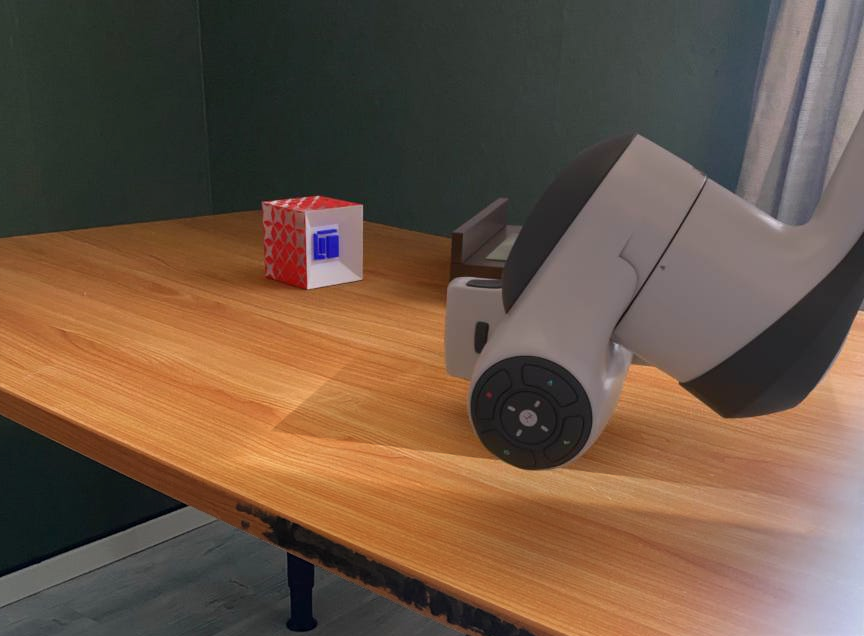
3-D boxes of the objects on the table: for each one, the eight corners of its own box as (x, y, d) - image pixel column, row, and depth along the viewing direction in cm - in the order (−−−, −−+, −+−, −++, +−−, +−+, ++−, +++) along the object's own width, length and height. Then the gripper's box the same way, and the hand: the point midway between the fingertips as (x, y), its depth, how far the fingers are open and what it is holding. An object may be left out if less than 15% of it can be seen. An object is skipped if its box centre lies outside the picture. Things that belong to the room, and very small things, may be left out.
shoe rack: (591, 266, 121) (598, 203, 117) (562, 313, 101) (570, 240, 98) (494, 258, 124) (498, 197, 120) (448, 303, 104) (451, 232, 101)
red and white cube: (320, 267, 118) (318, 195, 114) (362, 279, 113) (362, 204, 109) (264, 277, 113) (261, 202, 109) (306, 289, 108) (304, 211, 104)
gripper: (737, 307, 63) (738, 263, 74) (427, 282, 68) (471, 244, 79) (718, 403, 66) (722, 348, 78) (424, 372, 71) (467, 324, 83)
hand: (593, 295), depth 79 cm, fingers open, 8 cm apart
